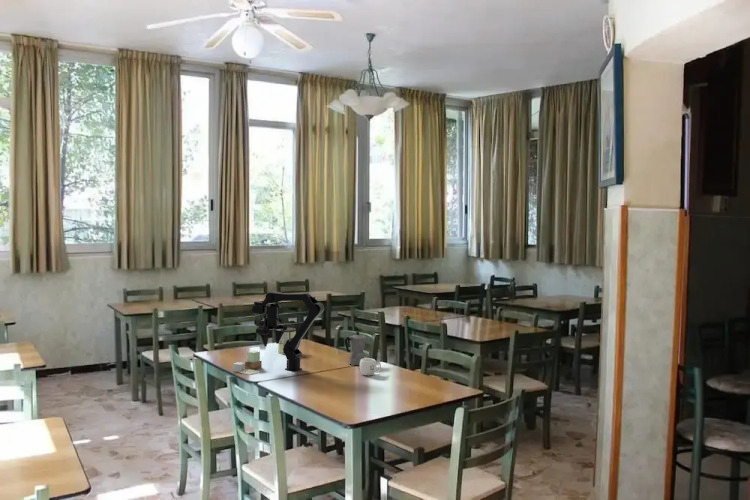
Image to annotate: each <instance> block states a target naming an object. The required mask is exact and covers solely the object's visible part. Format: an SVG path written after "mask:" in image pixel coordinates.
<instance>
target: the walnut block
mask: <svg viewBox="0 0 750 500" xmlns="http://www.w3.org/2000/svg"><path fill="white" fill-rule="evenodd" d="M244 363H245V370H249V369H250V370H255V371H258V370H260V369H262V366H263V365H262V363H263V362H262V360H260V361H258V362H254V363H253V362H248V361H247V360H246V361H244Z"/></svg>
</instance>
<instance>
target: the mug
mask: <svg viewBox="0 0 750 500" xmlns="http://www.w3.org/2000/svg"><path fill="white" fill-rule="evenodd" d="M377 364H378V365H379V369H378V370H376V369H377ZM381 368H382V364H381V362H380V361H376V359H375V358H370V357H364V359H361V360H360V366H359V371H360V373H361V375H362V376H364V375H372V376H373V375H375V373H379V372H380V371H381Z"/></svg>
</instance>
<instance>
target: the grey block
mask: <svg viewBox="0 0 750 500" xmlns="http://www.w3.org/2000/svg"><path fill="white" fill-rule="evenodd" d="M245 370H246V369H245V362H241V361H240V362H239V361H237V362H234V363H232V372H234V373H240V372H241V371H245Z"/></svg>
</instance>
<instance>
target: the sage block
mask: <svg viewBox="0 0 750 500" xmlns="http://www.w3.org/2000/svg"><path fill="white" fill-rule="evenodd" d="M246 357H247V359H246V361H248V362H253V363H254V362H258V361H261V359H260V358H261V352H260V351H259V350H251V351H247V356H246Z"/></svg>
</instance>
